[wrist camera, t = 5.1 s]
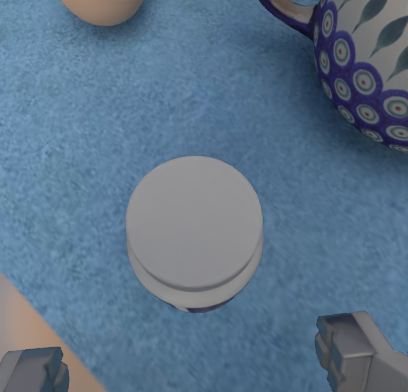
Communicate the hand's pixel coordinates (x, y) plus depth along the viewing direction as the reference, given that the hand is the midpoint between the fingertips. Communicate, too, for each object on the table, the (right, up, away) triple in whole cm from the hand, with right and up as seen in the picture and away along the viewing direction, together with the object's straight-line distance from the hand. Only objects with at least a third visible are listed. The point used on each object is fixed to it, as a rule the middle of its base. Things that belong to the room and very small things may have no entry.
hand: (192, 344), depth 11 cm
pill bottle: (0, +1, +10) cm, 10 cm away
